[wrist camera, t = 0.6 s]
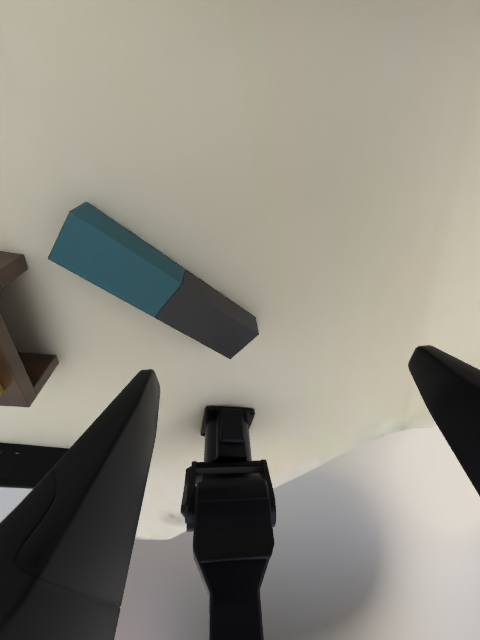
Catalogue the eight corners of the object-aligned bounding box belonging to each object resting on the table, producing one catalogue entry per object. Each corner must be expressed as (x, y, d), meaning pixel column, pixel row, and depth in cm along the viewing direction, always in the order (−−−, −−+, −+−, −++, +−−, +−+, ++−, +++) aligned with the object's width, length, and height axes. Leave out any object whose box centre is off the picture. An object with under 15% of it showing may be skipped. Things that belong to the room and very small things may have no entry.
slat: (256, 317, 25) (259, 334, 23) (229, 341, 26) (230, 359, 24) (86, 200, 17) (69, 210, 16) (64, 244, 19) (47, 258, 17)
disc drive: (126, 453, 39) (115, 491, 35) (116, 506, 51) (108, 538, 47) (-13, 440, 34) (-44, 482, 30) (13, 502, 47) (-5, 537, 43)
